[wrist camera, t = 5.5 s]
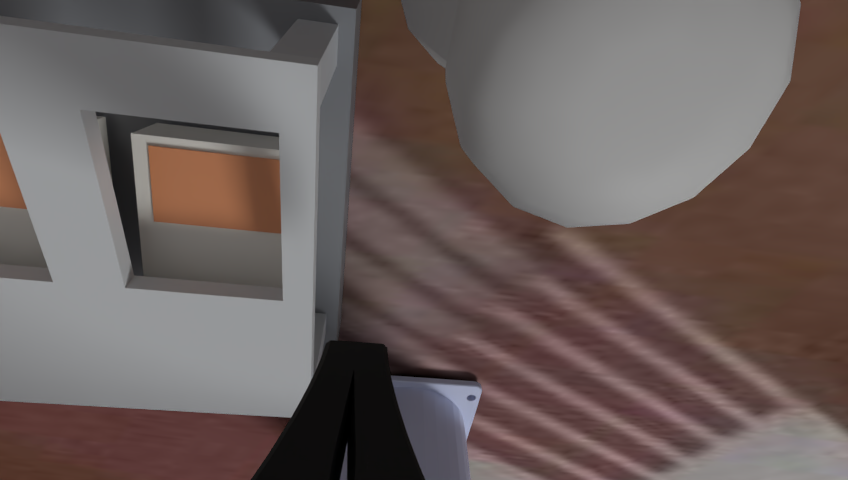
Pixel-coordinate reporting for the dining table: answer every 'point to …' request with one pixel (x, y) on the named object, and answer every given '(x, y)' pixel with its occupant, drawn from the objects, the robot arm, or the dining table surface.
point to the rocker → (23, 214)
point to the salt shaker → (607, 95)
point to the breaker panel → (117, 204)
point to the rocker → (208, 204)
